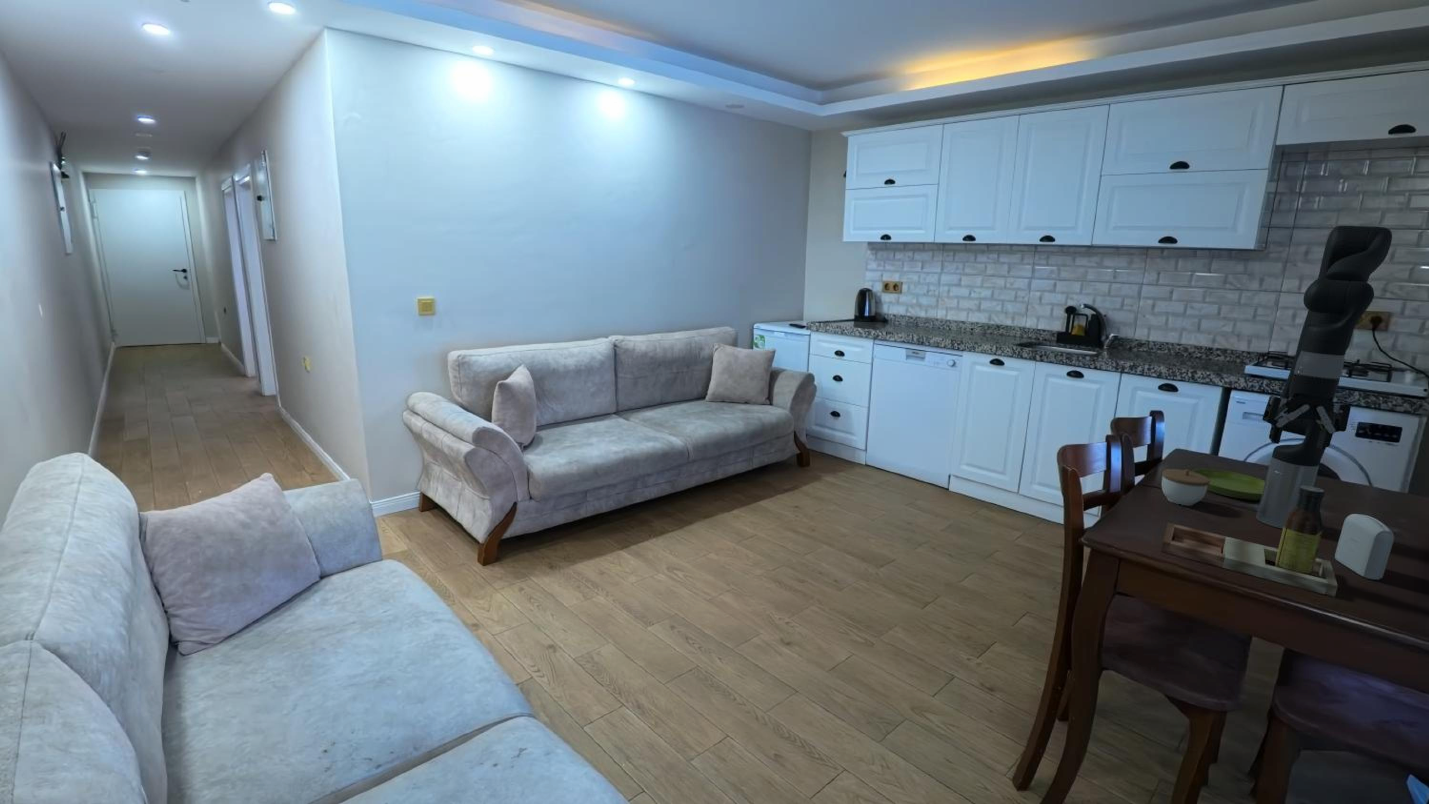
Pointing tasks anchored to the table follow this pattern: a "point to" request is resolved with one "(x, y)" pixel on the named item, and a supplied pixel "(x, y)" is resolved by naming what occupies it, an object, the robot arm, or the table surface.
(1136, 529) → the table surface
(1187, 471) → the lidded jar
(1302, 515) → the sauce bottle
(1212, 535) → the birch rail plate
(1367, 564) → the photo printer
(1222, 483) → the saucer
